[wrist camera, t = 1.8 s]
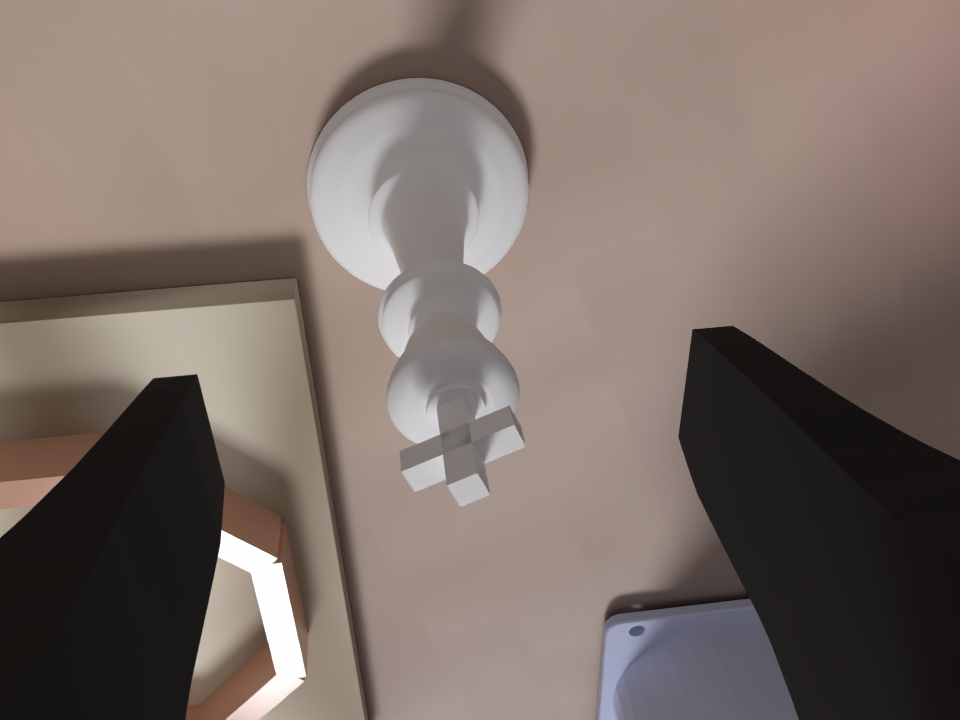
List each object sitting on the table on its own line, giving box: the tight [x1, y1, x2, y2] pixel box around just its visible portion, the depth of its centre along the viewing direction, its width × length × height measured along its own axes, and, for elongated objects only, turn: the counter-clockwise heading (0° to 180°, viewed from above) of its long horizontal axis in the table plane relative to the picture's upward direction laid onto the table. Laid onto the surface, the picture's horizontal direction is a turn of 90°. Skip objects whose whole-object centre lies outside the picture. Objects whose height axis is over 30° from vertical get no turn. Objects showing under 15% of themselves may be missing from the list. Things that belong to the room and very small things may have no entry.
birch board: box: [0, 278, 368, 720], centre depth 25 cm, size 14×18×1 cm
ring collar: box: [0, 432, 308, 720], centre depth 24 cm, size 12×12×2 cm
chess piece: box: [307, 78, 529, 507], centre depth 16 cm, size 5×5×10 cm
